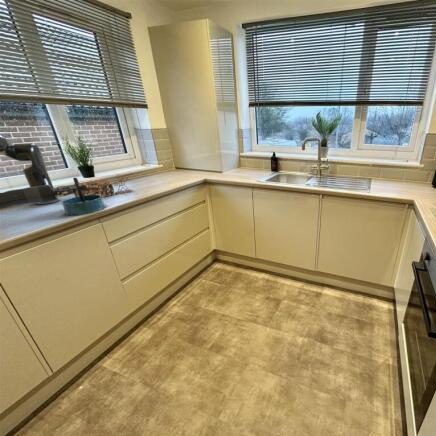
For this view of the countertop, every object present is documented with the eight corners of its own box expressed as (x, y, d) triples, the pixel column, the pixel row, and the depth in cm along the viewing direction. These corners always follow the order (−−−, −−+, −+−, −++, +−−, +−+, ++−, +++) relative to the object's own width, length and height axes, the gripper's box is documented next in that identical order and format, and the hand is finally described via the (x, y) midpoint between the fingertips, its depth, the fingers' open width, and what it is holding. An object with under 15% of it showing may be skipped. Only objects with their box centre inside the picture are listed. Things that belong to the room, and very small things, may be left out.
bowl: (57, 214, 121) (52, 203, 118) (86, 204, 136) (83, 194, 133) (85, 215, 119) (81, 204, 116) (112, 205, 134) (108, 195, 131)
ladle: (75, 209, 123) (63, 178, 117) (85, 205, 128) (75, 176, 122) (85, 209, 122) (74, 178, 116) (95, 206, 128) (85, 176, 122)
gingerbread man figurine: (116, 194, 154) (111, 176, 150) (115, 193, 157) (110, 175, 152) (132, 191, 160) (127, 173, 155) (131, 190, 162) (126, 173, 158)
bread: (78, 202, 140) (72, 185, 136) (75, 199, 146) (69, 183, 142) (116, 195, 153) (111, 179, 149) (111, 192, 159) (106, 177, 155)
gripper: (36, 188, 106) (85, 182, 118) (35, 184, 115) (81, 178, 126) (43, 204, 109) (90, 196, 120) (42, 198, 118) (86, 191, 129)
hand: (86, 187), depth 123 cm, fingers closed on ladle
